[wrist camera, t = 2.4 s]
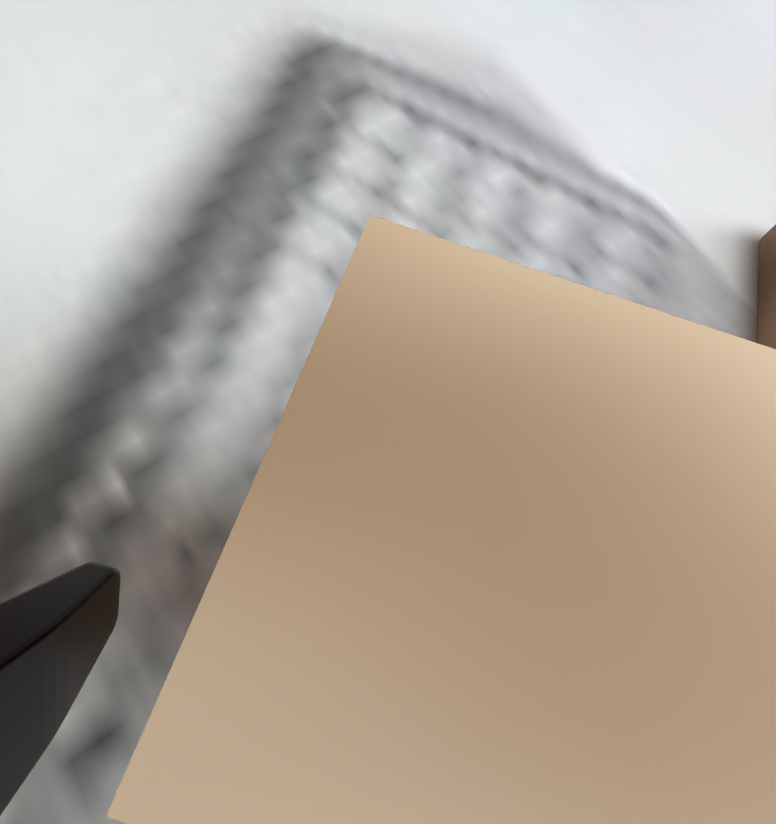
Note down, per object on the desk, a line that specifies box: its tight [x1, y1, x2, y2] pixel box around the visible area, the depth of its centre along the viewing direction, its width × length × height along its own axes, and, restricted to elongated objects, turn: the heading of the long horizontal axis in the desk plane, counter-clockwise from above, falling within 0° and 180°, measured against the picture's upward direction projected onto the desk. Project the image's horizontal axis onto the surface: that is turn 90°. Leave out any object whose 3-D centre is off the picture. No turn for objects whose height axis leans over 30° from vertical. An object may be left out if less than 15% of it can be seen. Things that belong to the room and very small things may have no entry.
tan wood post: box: [106, 215, 776, 824], centre depth 11 cm, size 5×4×14 cm
